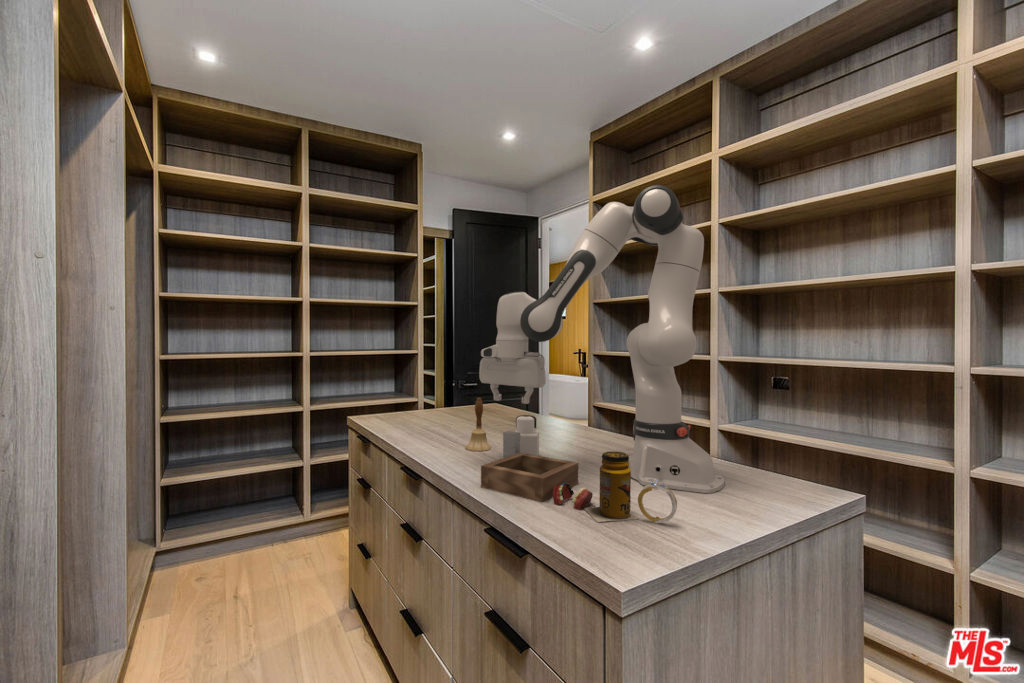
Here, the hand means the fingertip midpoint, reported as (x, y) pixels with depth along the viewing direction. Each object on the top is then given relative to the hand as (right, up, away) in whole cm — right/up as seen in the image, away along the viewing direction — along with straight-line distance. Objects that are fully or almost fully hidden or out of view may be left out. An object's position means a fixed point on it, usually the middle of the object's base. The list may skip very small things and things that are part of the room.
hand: (511, 401), depth 131 cm
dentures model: (+13, -18, -30) cm, 37 cm away
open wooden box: (+5, -18, -18) cm, 25 cm away
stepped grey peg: (0, -17, 0) cm, 17 cm away
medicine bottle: (+4, -18, +9) cm, 20 cm away
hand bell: (-10, -17, +20) cm, 28 cm away
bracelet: (+28, -18, -41) cm, 52 cm away
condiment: (+20, -18, -36) cm, 45 cm away
